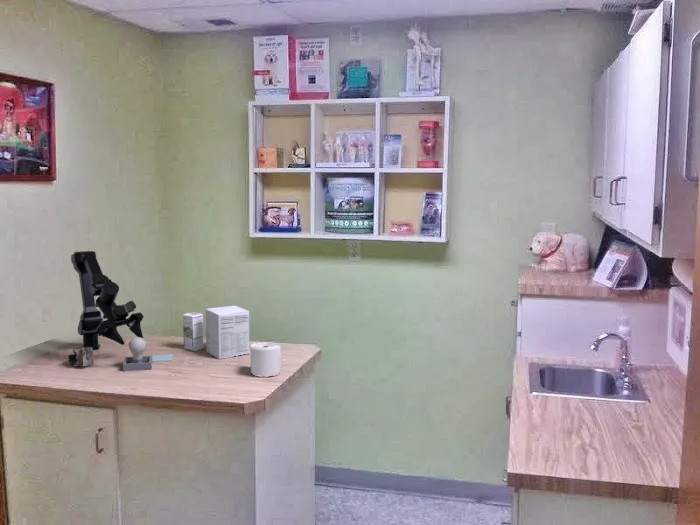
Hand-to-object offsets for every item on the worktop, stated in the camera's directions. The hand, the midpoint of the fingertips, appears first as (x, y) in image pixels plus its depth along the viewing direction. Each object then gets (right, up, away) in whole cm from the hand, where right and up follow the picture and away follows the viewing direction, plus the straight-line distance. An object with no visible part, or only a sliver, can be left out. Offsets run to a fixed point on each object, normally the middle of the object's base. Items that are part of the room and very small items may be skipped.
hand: (133, 341), depth 246 cm
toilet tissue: (+48, -11, -5) cm, 50 cm away
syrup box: (+16, -6, +26) cm, 31 cm away
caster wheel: (-20, -9, +3) cm, 23 cm away
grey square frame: (+2, -9, +1) cm, 9 cm away
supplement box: (+31, -7, +20) cm, 37 cm away
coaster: (+7, -8, +11) cm, 15 cm away
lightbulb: (+2, -10, +1) cm, 10 cm away
